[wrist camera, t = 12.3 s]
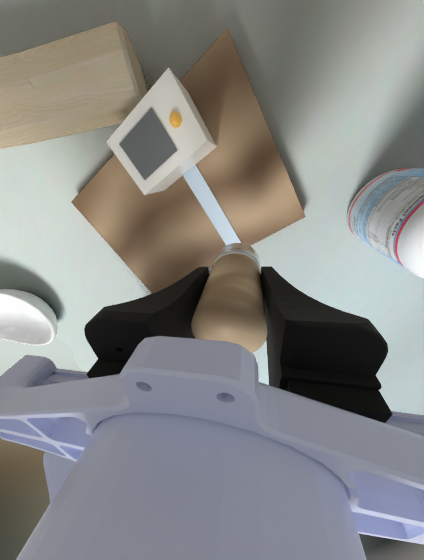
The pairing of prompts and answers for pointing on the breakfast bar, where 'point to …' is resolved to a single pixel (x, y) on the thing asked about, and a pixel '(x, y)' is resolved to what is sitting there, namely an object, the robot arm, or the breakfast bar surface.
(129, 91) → the hammer
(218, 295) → the tan rounded cylinder
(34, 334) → the spoon rest
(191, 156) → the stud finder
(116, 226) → the board
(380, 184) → the pill bottle
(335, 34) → the breakfast bar surface
